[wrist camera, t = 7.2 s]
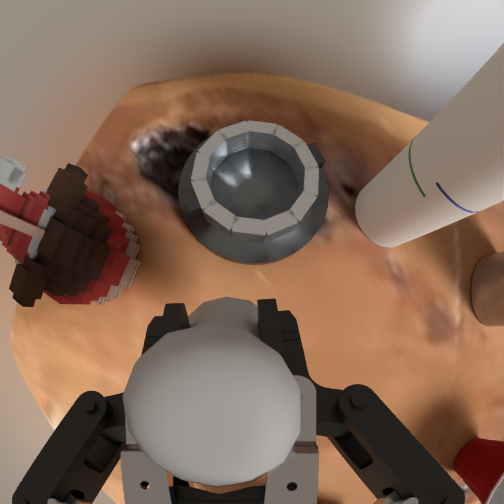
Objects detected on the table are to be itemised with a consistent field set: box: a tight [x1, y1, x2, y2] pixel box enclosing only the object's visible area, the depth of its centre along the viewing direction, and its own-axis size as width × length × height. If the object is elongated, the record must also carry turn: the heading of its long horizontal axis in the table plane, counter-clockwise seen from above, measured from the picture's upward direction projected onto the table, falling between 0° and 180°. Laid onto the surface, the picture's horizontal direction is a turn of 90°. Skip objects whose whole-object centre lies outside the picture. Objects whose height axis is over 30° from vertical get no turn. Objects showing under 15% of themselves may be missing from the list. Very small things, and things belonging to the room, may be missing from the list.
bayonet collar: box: [178, 120, 329, 265], centre depth 25 cm, size 14×14×4 cm
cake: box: [0, 156, 140, 307], centre depth 17 cm, size 11×9×18 cm
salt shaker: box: [123, 297, 300, 487], centre depth 11 cm, size 6×6×13 cm
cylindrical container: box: [355, 43, 504, 247], centre depth 15 cm, size 7×7×25 cm
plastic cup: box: [454, 438, 504, 504], centre depth 17 cm, size 11×11×12 cm
